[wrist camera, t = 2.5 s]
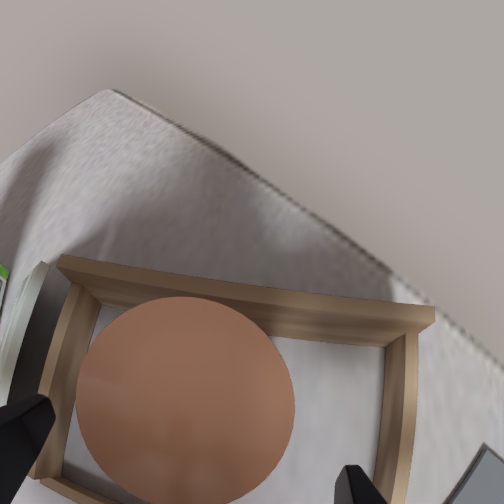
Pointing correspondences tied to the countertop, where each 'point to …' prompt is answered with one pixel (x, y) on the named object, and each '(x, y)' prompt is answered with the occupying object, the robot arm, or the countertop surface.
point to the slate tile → (482, 482)
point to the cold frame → (243, 301)
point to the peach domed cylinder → (185, 402)
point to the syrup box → (3, 281)
